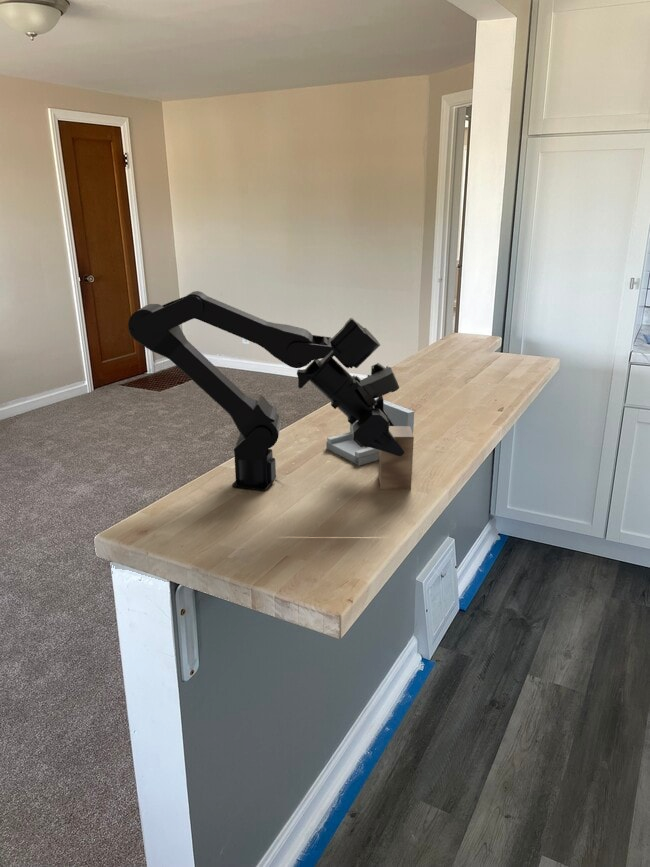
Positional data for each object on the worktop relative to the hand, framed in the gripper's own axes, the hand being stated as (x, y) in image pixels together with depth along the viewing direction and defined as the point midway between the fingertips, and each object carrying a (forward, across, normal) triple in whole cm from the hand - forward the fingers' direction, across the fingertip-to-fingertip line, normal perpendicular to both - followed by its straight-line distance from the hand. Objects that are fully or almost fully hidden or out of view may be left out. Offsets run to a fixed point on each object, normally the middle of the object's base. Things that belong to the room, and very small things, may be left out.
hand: (399, 444), depth 115 cm
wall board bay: (+1, +15, +10) cm, 18 cm away
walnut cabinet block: (+5, 0, +6) cm, 7 cm away
